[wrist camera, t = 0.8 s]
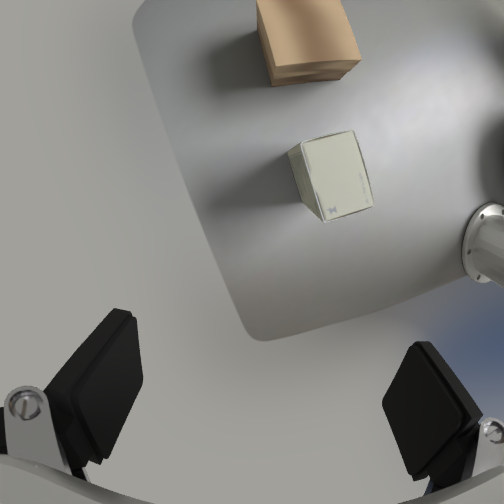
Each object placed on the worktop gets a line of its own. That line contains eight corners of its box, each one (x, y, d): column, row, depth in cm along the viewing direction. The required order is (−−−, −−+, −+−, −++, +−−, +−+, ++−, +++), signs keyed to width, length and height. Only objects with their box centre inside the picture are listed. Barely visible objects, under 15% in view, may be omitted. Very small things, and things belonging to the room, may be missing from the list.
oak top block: (328, 11, 21) (337, -6, 17) (349, 71, 23) (361, 59, 20) (256, 17, 22) (256, -1, 18) (274, 79, 24) (276, 66, 20)
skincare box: (336, 192, 31) (378, 210, 19) (300, 203, 32) (323, 227, 20) (321, 139, 29) (356, 127, 18) (283, 150, 30) (298, 142, 18)
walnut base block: (322, 25, 25) (329, 10, 21) (338, 80, 27) (348, 70, 23) (257, 31, 25) (256, 16, 22) (271, 87, 28) (273, 77, 24)
